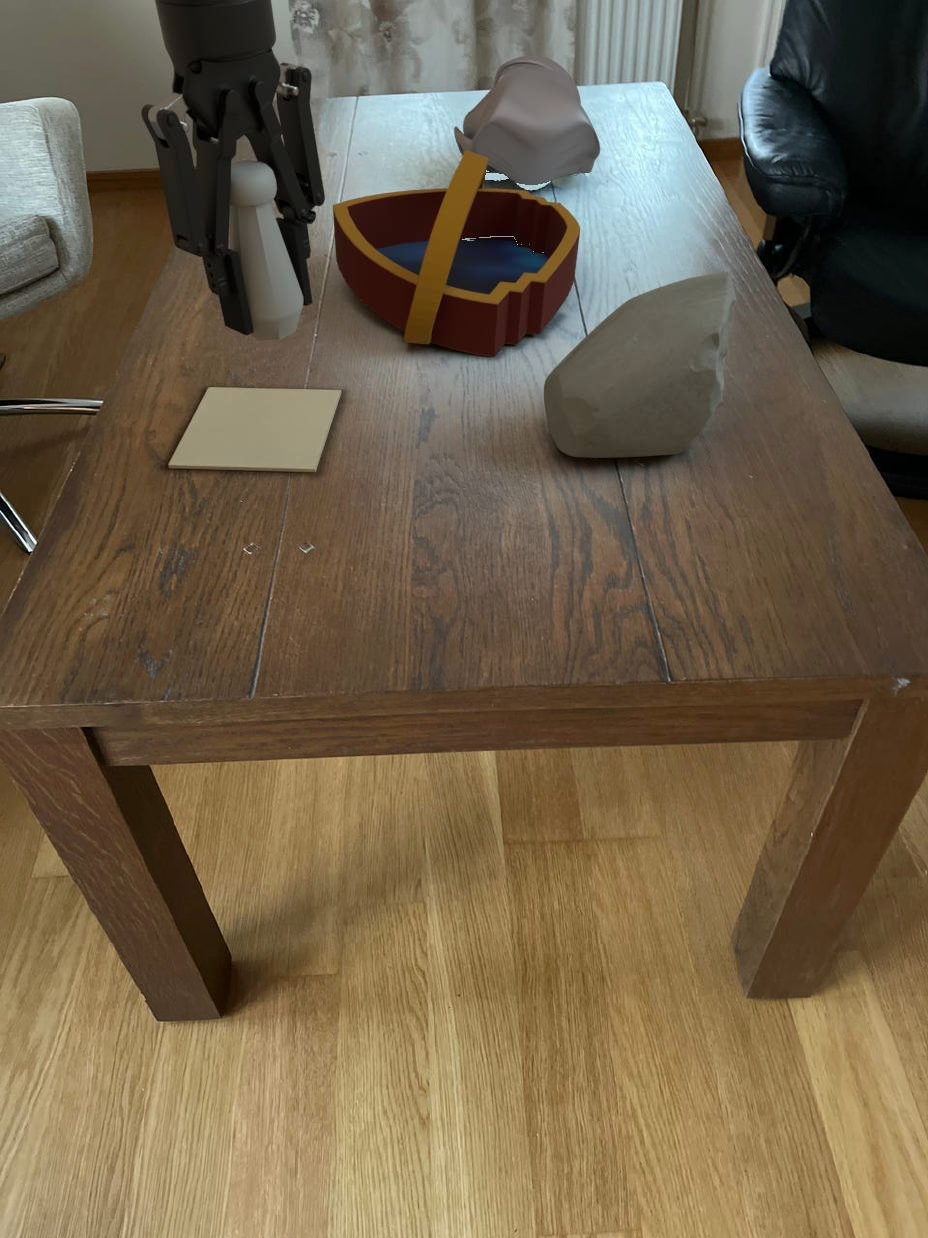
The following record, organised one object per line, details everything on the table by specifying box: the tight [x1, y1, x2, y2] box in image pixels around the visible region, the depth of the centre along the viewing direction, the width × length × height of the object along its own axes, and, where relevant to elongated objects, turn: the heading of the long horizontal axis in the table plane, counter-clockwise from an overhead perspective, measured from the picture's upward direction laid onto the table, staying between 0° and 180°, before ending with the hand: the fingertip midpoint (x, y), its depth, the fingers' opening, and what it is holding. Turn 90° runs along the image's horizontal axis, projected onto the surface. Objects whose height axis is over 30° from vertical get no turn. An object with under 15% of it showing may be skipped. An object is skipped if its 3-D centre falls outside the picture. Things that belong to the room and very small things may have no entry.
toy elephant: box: [453, 54, 601, 192], centre depth 135 cm, size 20×18×15 cm
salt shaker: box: [229, 159, 304, 341], centre depth 75 cm, size 6×6×13 cm
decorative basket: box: [332, 150, 581, 358], centre depth 109 cm, size 34×29×15 cm
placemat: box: [167, 386, 342, 473], centre depth 93 cm, size 14×14×1 cm
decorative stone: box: [543, 271, 737, 459], centre depth 86 cm, size 12×17×15 cm
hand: (269, 313), depth 78 cm, fingers closed on salt shaker, 6 cm apart
